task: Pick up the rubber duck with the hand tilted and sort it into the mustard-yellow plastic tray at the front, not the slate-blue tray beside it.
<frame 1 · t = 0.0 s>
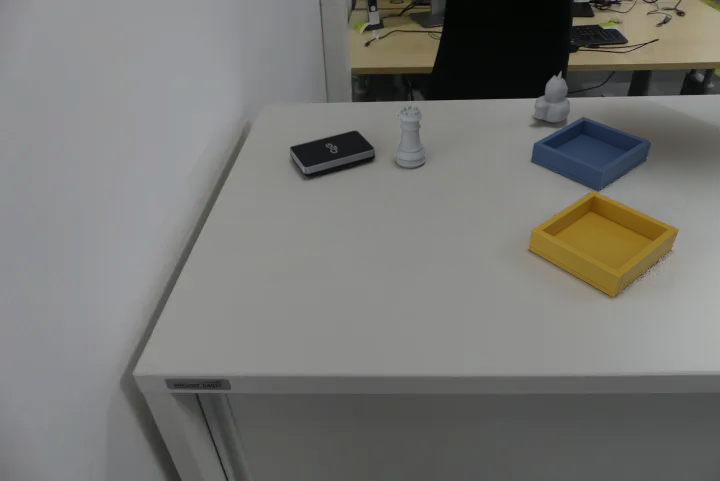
yellow tray: (599, 249, 63), on the table
external hard drive: (332, 161, 82), on the table
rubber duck: (548, 122, 88), on the table
rook chess piece: (410, 162, 81), on the table
blue tray: (588, 160, 78), on the table
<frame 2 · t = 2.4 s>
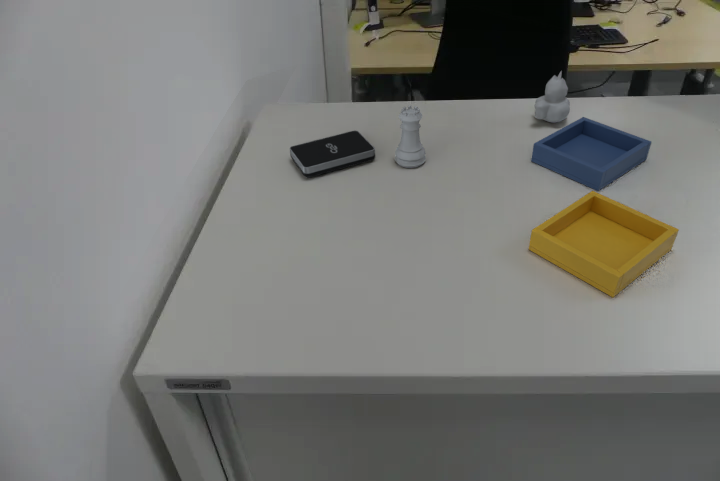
nothing on the table moved.
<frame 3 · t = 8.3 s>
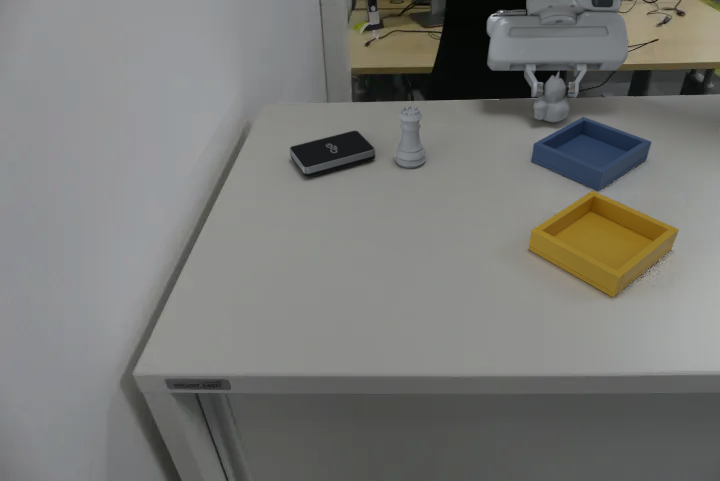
hand: (554, 95, 85), 5 cm above the table, tool tilted 45°, fingers closed on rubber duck, 4 cm apart
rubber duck: (548, 122, 88), on the table, touching gripper
everything else where it was.
when the fingers open (5 cm above the table, at t = 19.3 s): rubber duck stays where it is, resting on yellow tray.
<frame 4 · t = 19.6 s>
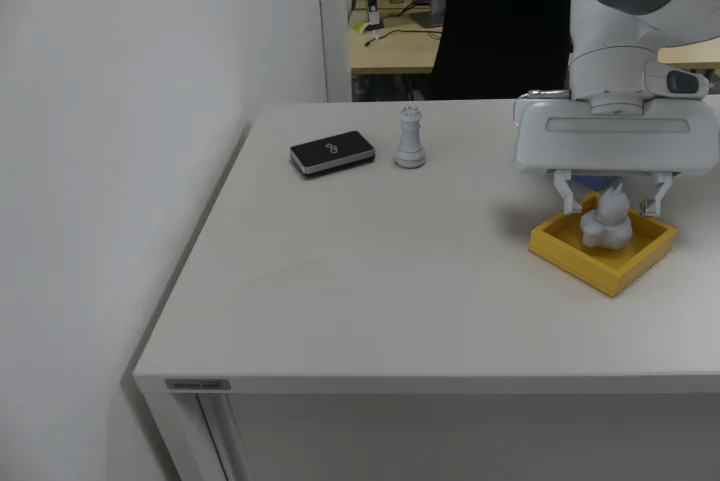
hand: (611, 215, 59), 5 cm above the table, tool tilted 45°, fingers open, 6 cm apart
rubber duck: (599, 246, 63), resting on yellow tray
everything else where it was.
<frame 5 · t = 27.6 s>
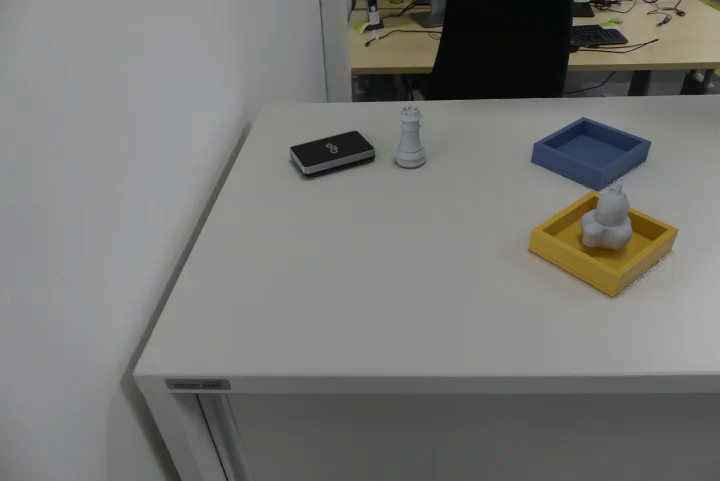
nothing on the table moved.
at the end: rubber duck inside the target area in the yellow tray (0.0 cm from its centre), point 0.4 cm above the yellow tray's base; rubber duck tilted 0°; the gripper is holding nothing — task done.
